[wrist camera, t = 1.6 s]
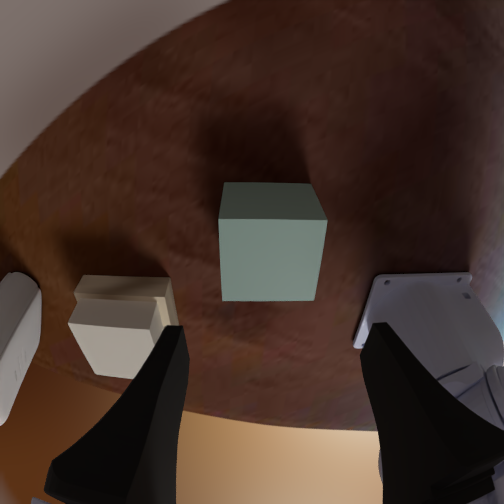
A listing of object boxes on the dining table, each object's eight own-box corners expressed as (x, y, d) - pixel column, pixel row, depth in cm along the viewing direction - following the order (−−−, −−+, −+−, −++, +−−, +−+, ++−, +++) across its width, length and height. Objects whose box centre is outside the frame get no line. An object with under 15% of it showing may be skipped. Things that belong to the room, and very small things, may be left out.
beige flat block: (171, 273, 22) (164, 297, 20) (183, 337, 26) (179, 360, 24) (85, 271, 22) (73, 292, 20) (108, 332, 26) (101, 353, 24)
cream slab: (157, 301, 21) (149, 329, 18) (171, 356, 24) (166, 381, 22) (80, 298, 20) (67, 322, 18) (103, 350, 24) (95, 374, 22)
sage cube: (310, 183, 18) (327, 220, 15) (302, 253, 21) (314, 300, 17) (224, 181, 18) (218, 219, 14) (226, 253, 21) (222, 300, 17)
